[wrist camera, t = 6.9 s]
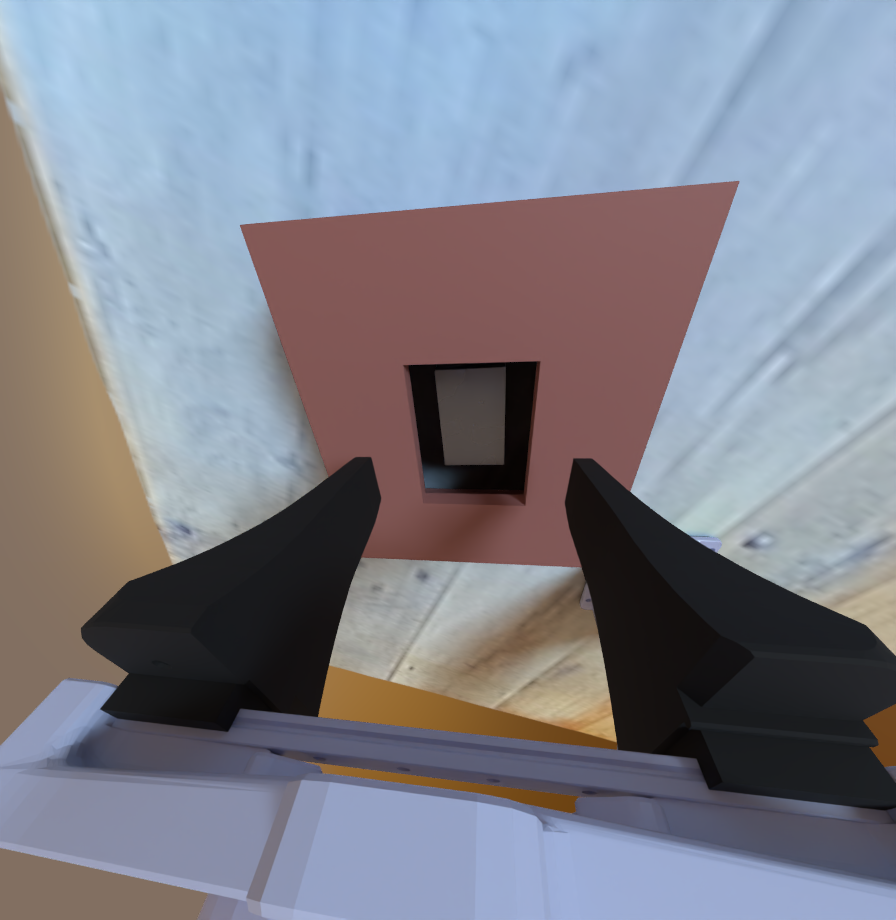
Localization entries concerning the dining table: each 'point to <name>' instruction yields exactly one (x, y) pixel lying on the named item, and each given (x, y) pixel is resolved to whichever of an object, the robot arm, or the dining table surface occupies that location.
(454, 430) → the grey rectangular block
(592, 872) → the robot arm
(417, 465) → the box
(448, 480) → the dining table surface
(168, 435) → the dining table surface
